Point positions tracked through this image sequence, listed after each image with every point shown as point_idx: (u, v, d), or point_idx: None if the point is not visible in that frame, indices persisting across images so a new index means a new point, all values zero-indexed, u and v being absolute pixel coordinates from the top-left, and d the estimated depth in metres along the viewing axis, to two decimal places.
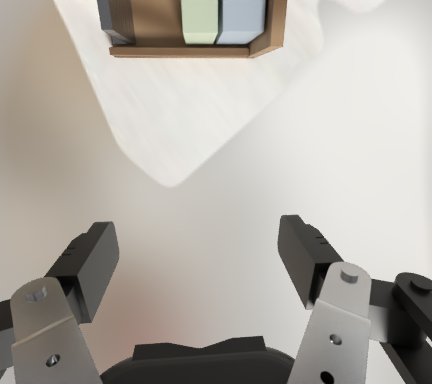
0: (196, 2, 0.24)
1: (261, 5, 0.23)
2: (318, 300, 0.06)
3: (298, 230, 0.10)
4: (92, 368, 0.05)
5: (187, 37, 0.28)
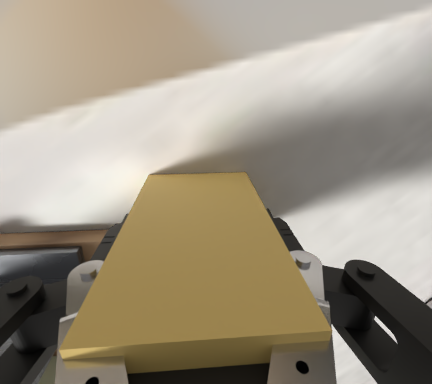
0: None
1: None
2: None
3: None
4: (120, 359, 0.05)
5: None
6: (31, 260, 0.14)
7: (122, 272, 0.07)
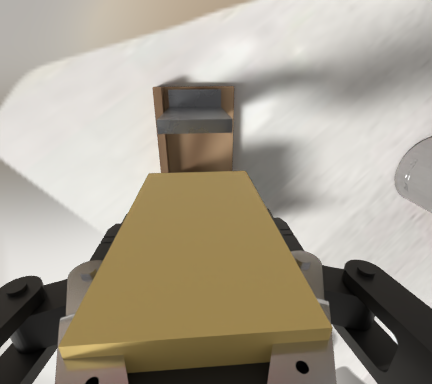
0: None
1: None
2: None
3: None
4: (120, 359, 0.05)
5: None
6: (197, 93, 0.26)
7: (122, 270, 0.07)
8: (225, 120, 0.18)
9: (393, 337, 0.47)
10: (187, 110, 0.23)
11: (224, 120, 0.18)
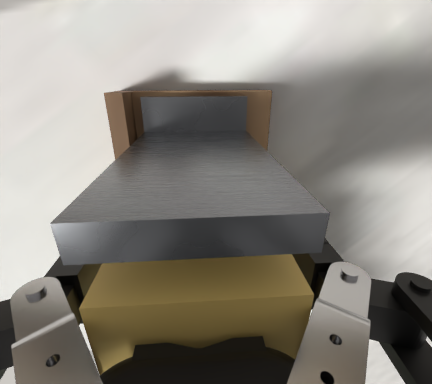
0: None
1: None
2: (318, 300, 0.06)
3: None
4: (92, 368, 0.05)
5: None
6: (200, 105, 0.13)
7: None
8: (303, 218, 0.05)
9: None
10: (178, 145, 0.11)
11: (300, 218, 0.05)
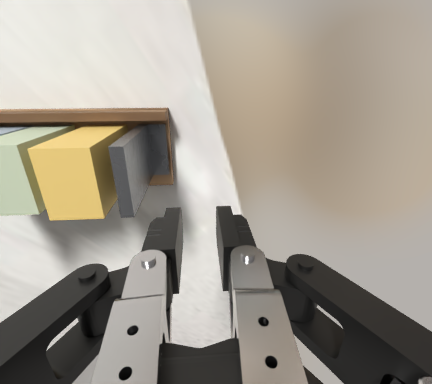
0: (6, 179, 0.18)
1: None
2: (236, 291, 0.07)
3: (223, 219, 0.11)
4: (155, 357, 0.05)
5: (36, 136, 0.20)
6: (163, 153, 0.27)
7: (101, 149, 0.19)
8: (131, 210, 0.19)
9: None
10: (144, 151, 0.23)
11: (131, 210, 0.19)
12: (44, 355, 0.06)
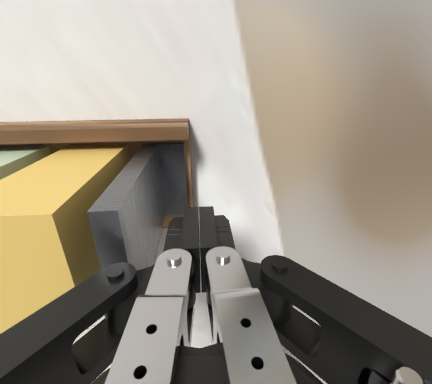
0: None
1: None
2: (216, 295, 0.06)
3: (204, 220, 0.11)
4: (170, 360, 0.05)
5: None
6: (180, 185, 0.18)
7: (82, 203, 0.10)
8: None
9: None
10: (153, 190, 0.15)
11: None
12: (70, 350, 0.06)
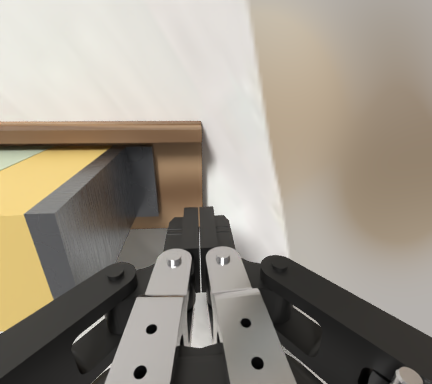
0: None
1: None
2: (216, 295, 0.06)
3: (204, 220, 0.11)
4: (170, 360, 0.05)
5: None
6: (150, 187, 0.18)
7: None
8: None
9: None
10: (116, 192, 0.15)
11: None
12: (69, 350, 0.06)
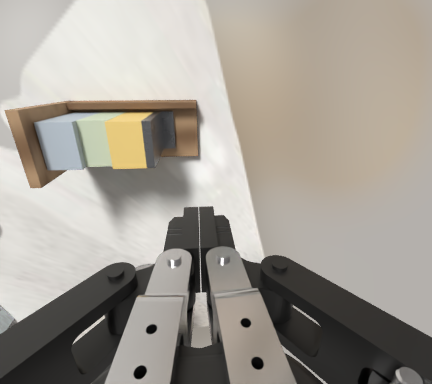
0: (98, 142, 0.29)
1: (42, 141, 0.28)
2: (216, 295, 0.06)
3: (204, 220, 0.11)
4: (170, 360, 0.05)
5: (112, 116, 0.31)
6: (171, 132, 0.38)
7: None
8: (153, 163, 0.30)
9: None
10: (159, 129, 0.34)
11: (153, 162, 0.30)
12: (69, 350, 0.06)
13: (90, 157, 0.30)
